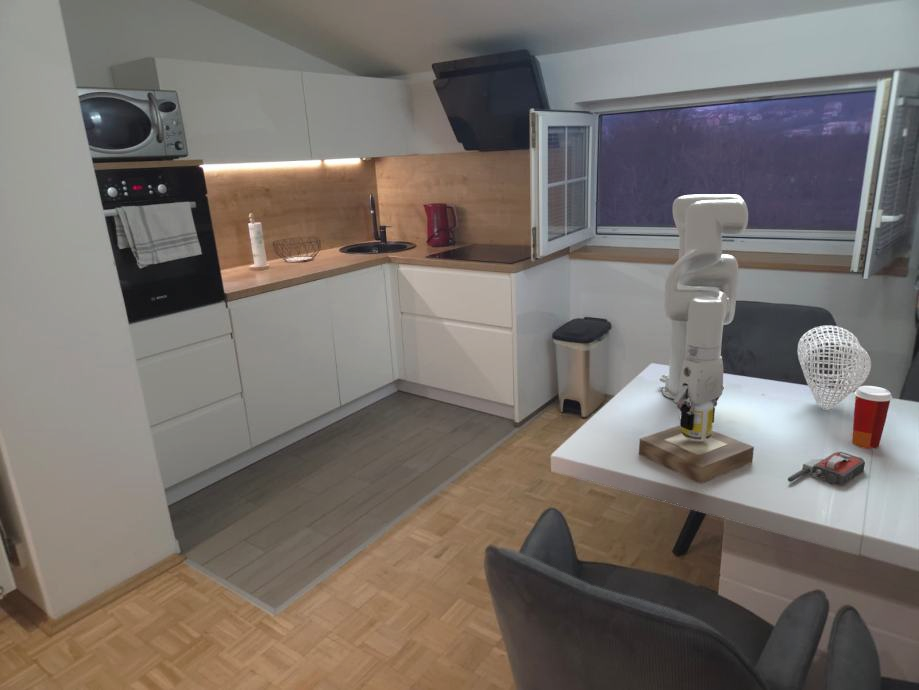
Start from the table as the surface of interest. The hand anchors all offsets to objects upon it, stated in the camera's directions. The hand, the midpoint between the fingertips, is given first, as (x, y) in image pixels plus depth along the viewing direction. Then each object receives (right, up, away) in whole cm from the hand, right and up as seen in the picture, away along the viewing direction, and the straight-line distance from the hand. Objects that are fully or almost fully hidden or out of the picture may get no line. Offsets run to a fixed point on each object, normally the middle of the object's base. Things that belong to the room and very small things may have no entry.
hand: (697, 424), depth 148 cm
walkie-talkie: (+26, -11, -8) cm, 29 cm away
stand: (0, -8, +2) cm, 9 cm away
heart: (+47, 0, +29) cm, 55 cm away
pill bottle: (0, -3, +1) cm, 3 cm away
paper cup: (+44, -6, +7) cm, 45 cm away
